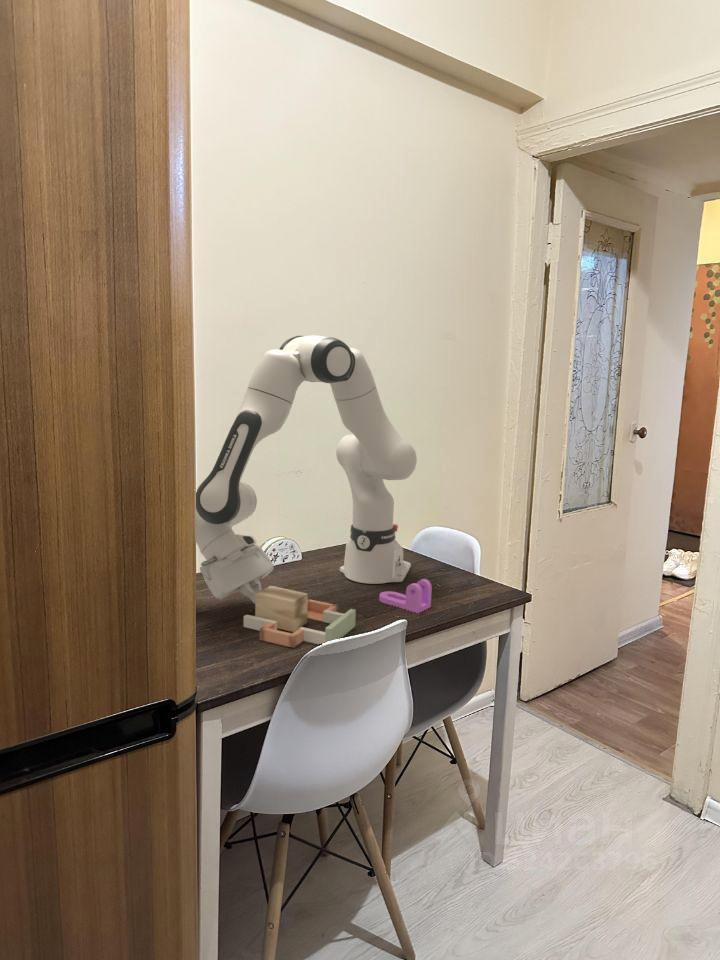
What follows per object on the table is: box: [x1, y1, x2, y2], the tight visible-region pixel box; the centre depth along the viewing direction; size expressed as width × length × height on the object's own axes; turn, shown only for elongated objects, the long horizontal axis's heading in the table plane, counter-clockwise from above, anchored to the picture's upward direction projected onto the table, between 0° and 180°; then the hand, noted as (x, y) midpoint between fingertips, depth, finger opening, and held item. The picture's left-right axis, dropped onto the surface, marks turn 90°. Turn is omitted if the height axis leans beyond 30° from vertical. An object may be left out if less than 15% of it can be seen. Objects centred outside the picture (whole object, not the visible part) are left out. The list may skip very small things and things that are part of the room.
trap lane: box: [243, 598, 357, 649], centre depth 152 cm, size 20×22×4 cm
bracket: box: [378, 578, 433, 614], centre depth 168 cm, size 13×6×7 cm, turn 51°
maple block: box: [254, 585, 309, 633], centre depth 154 cm, size 6×10×7 cm, turn 63°
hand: (260, 600), depth 156 cm, fingers closed
